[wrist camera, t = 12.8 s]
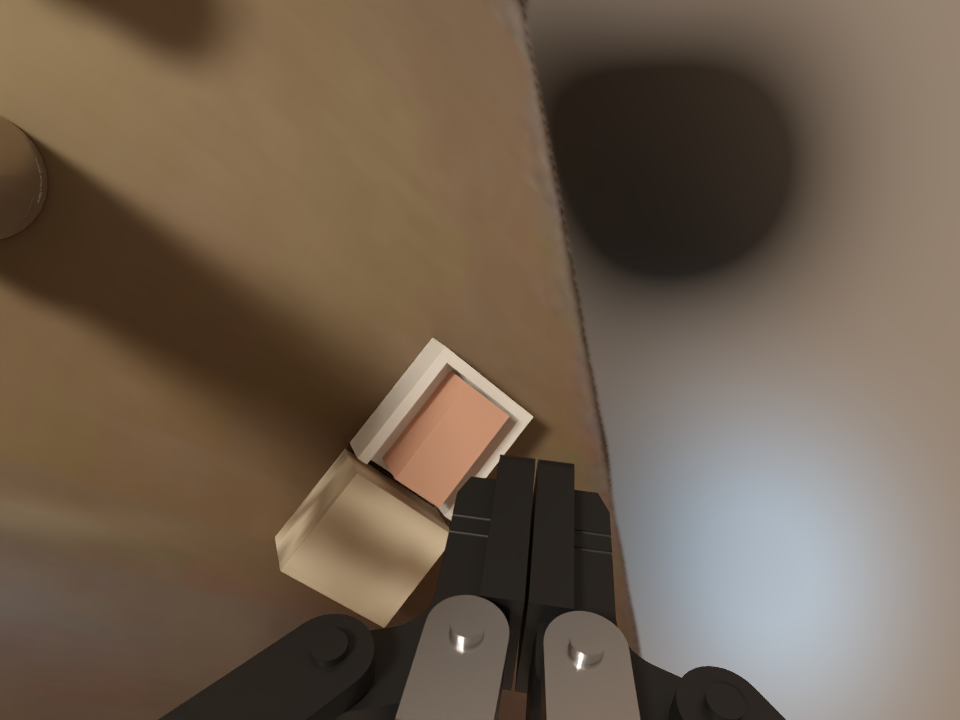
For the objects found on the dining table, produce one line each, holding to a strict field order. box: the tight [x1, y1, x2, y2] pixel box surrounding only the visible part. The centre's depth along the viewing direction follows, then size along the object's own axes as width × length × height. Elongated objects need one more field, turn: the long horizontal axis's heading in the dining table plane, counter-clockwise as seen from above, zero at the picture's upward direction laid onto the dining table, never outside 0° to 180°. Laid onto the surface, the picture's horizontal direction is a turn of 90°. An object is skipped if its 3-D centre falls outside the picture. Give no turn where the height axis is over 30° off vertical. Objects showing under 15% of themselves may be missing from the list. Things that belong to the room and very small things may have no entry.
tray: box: [350, 338, 533, 520], centre depth 63 cm, size 12×11×4 cm
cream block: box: [275, 448, 449, 628], centre depth 62 cm, size 10×11×6 cm
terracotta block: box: [382, 370, 510, 508], centre depth 62 cm, size 5×5×10 cm
